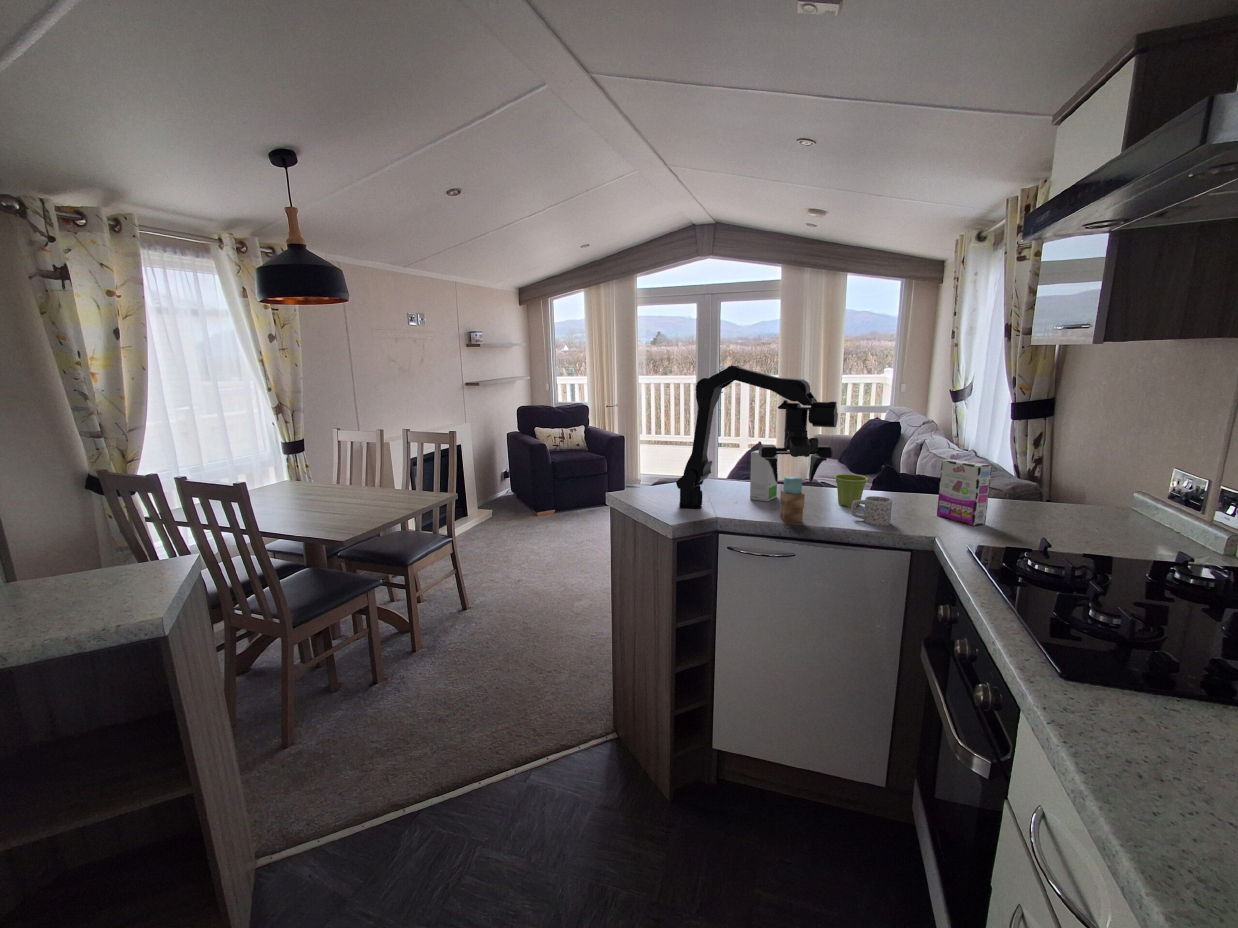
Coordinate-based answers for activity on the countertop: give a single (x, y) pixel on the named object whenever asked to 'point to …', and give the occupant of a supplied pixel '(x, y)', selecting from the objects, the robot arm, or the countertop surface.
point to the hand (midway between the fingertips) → (793, 481)
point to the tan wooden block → (792, 500)
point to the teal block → (792, 485)
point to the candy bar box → (964, 491)
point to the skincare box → (762, 479)
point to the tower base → (791, 514)
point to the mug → (874, 510)
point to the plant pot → (849, 488)
